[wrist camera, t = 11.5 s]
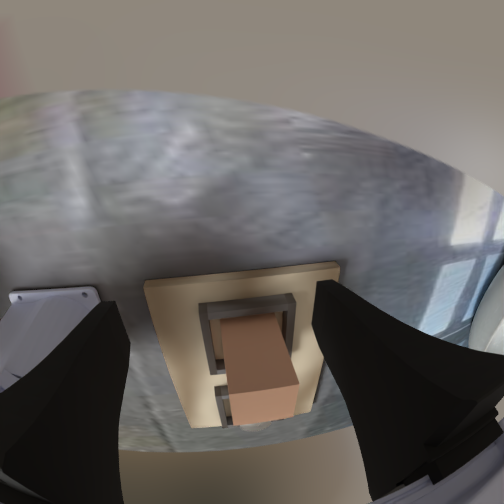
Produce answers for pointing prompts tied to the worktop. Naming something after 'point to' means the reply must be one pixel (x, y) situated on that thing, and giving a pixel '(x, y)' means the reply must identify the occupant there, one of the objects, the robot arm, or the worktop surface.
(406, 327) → the robot arm
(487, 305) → the serving bowl
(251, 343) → the tan tall block
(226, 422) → the board
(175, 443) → the worktop surface
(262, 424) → the pin
